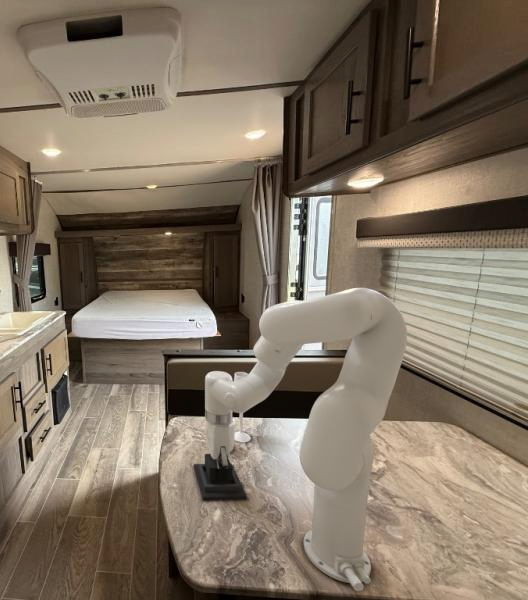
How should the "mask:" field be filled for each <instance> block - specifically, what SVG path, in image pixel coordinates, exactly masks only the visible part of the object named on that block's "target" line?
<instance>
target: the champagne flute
mask: <svg viewBox="0 0 528 600" xmlns="http://www.w3.org/2000/svg"><path fill="white" fill-rule="evenodd" d="M248 374H249V373H247V372H245V371H236V372H234V377H233V381H237V380H239V379H241V378H243V377H245V376H247V375H248ZM245 412H247V411H245ZM245 412H242V413H238V414H239V415H238V416H239V417H238V418H239V420H238V423H239V424H238V425H239V427H238V431H235V437H234V441H235V442H238V443H248V442H250V441H251V440H252V439H251V436H250V435H249V434H248V433H246V432H244V413H245Z"/></svg>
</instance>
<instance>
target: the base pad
mask: <svg viewBox="0 0 528 600" xmlns="http://www.w3.org/2000/svg"><path fill="white" fill-rule="evenodd" d="M230 463H231V465H232V480H219V481H217V480H212V481H210V480H209V477H208V474H207V471H206V468H205V463H193V470H194V473H195V477H196V481H197V484H198V487H199V488H198V489H199V491H200V495H201V499H202V501H227V500H228V501H229V500H234V501H235V500H247V494H246V492H245V490H244V487H243V485H242V484H241V480H240V479H239V476H238V474H237V472H236V470H235V468H234V465H233V463H232V462H230Z"/></svg>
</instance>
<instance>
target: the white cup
mask: <svg viewBox="0 0 528 600" xmlns="http://www.w3.org/2000/svg"><path fill="white" fill-rule="evenodd" d="M229 432H230V453H231V452H233V450H234V446H235V440H234V437H235V432H236V420H235V418H234V417H232V423H231V424H230V425H229Z"/></svg>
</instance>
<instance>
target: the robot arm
mask: <svg viewBox="0 0 528 600" xmlns="http://www.w3.org/2000/svg"><path fill="white" fill-rule="evenodd" d="M258 328H259V332H260V334H261V335H260V337H259V338H258V339H257V341H256V342H255V344H254V346H253V349H252V351H253V355H254V356H255V358H256V359H257V361H256V364H255V365H254V366H253V368H251V371H250V372H249V373H247V374H248V375H247V376H245V377H243V378H241V379H239V380H237V381H234V379H233V377H232V375H231V374H229V373H228V372H226V371H223V370H222V371H221V370H213V371H210V372H208V373H207V374H206V375H205V378H204V419H205V422H206V425H205V444H206V446H207V450H208V452H209V454H210V455H211V457H212V458H213V459H216V464H217V467H216V475H215V478H216V480H217V481H219V480H227V466H228V462H227V459H229V458H230V456H231V452H230V432H229V425H230V424H231V423H232V418H233V413H236V414H239V413H242V412H244V413H245V411H246V412H247V411H249V410H250V409H251V408H253V407H255V406H256V405H258V404H259V403H262V402H263V401H265V400H266V399H267V398H268V397H269V396H270V395H271V394H272V393H273V391H274V390H275V389H276V388H277V386H278V385H279V384H280V382H281V381H282V379H283V377H284V376H285V373H286V371H287V367H288V366H289V364H290V363H291V362H292V360H293V359H294V358H295V357H296V356H297V354H298V352H299V351H300V350H301V349H302V347H303V346H304V345H309V344H320V343H330V342H341V341H346V340H350V339H351V342H350V345H349V347H348V349H347V351H346V354H345V356H344V360H343V364H342V366H341V370H340V373H339V375H338V378H337V380H336V381H335V383H333V385H331V386H330V387H329V388H328V389H326V390H325V391H324V392H323V393H321V394H320V395H319V396H318V397H317V398H316V400H315V401H314V403H313V405H312V407H311V410H310V412H309V417H308V420H307V423H306V426H305V430H304V433H303V436H302V440H301V443H300V447H299V451H298V453H299V455H298V457H299V462H300V463H299V464H300V465H301V468H302V471H303V472H304V474H305V476H306V477H307V478H308V479H309V481H310V482H312V483H313V484H314V488H313V503H312V504H313V505H312V507H313V508H312V523H311V524H312V525H311V529H310V530H308V531H306V533H305V535H304V537H303V549H304V552H305V554H306V556H307V558H308V559H309V560H310V562H311V563H312V564H313V565H314V566H315V567H316V568H317V569H318V570H319V571H321V572H322V573H323V574H325V575H327V576H329V577H330V578H332V579H335V580H337V581H338V582H339V581H340V582H342V583H345V584H346V583H347V584H350V586H351V587H352V588H353V590H354V591H355V592H361V591H363V590H364V588H365V587H364V584H366V585H369V584H371V583H372V579H371V578H370V576H371V572H372V571H371V570H372V563H371V560H370V558H369V556H368V554H367V553H366V551H365V550H364V543H365V534H366V533H365V531H366V522H367V521H366V520H367V506H368V497H369V488H370V481H371V476H372V471H373V465H374V460H375V459H374V458H375V447H374V442H373V439H372V437H371V435H372V433H373V432H374V431H375V430H376V429H377V427H378V426H379V425H380V424H381V422H382V421H383V419H384V418H385V415H386V413H387V408H388V404H389V401H390V398H391V395H392V393H393V390H394V387H395V385H396V381H397V378H398V374H399V372H400V369H401V366H402V363H403V361H404V356H405V353H406V350H407V349H406V348H407V345H408V329H407V324H406V320H405V318H404V316H403V314H402V312H401V310H400V309H399V308H398V307H397V305H396V304H395V303H394V302H393V301H392V300H391V299H389V298H388V297H387V296H385V295H384V294H383V293H381V292H379V291H376V290H375V289H371V288H367V287H354V288H349V289H345V290H342V291H341V290H340V291H339V292H335V293H331V294H327V295H322V296H318V297H314V298H309V299H305V300H304V299H303V300H296V299H294V300H287V301H285V302H284V301H283V302H281V303H277V304H273V305H271V306H269V307H268V308H266V309H265V310H264V311H263V313H262V314H261V315H260V318H259V322H258ZM219 454H221V456H219ZM219 459H222V463H220V464H219ZM363 583H364V584H363Z"/></svg>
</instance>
